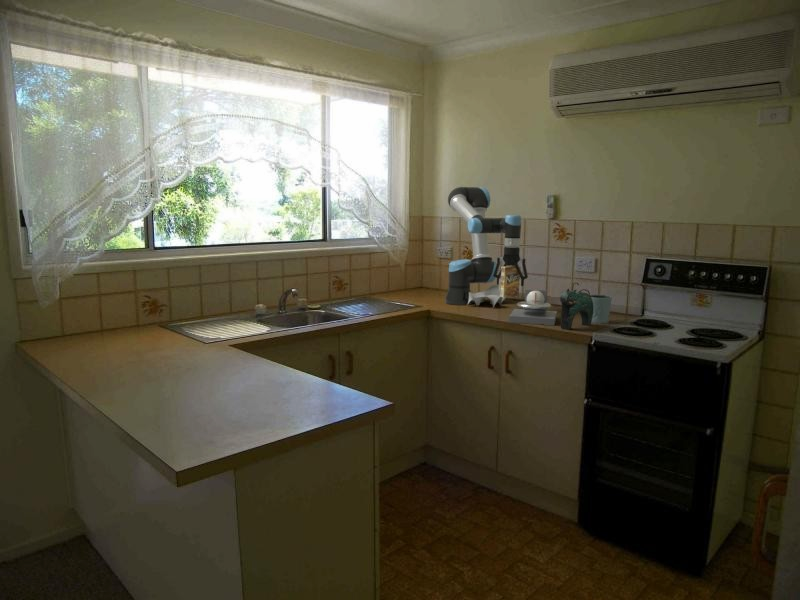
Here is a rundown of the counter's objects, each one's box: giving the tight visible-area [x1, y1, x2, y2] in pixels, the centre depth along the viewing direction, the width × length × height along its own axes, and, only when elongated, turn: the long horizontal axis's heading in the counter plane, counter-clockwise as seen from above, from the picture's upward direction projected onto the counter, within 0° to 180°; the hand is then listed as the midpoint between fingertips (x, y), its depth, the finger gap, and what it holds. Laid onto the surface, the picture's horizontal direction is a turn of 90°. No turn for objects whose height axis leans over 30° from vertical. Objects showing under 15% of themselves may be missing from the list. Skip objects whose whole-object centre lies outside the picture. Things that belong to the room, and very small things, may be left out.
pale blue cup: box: [590, 294, 613, 324], centre depth 267 cm, size 10×10×12 cm
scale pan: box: [516, 300, 552, 310], centre depth 270 cm, size 15×15×2 cm
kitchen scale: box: [508, 288, 558, 326], centre depth 270 cm, size 20×20×13 cm
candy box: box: [500, 265, 522, 298], centre depth 287 cm, size 9×4×15 cm, turn 107°
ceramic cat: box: [559, 282, 594, 331], centre depth 254 cm, size 20×6×20 cm, turn 126°
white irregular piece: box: [467, 284, 508, 309], centre depth 313 cm, size 25×19×10 cm
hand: (509, 291), depth 288 cm, fingers closed on candy box, 9 cm apart
